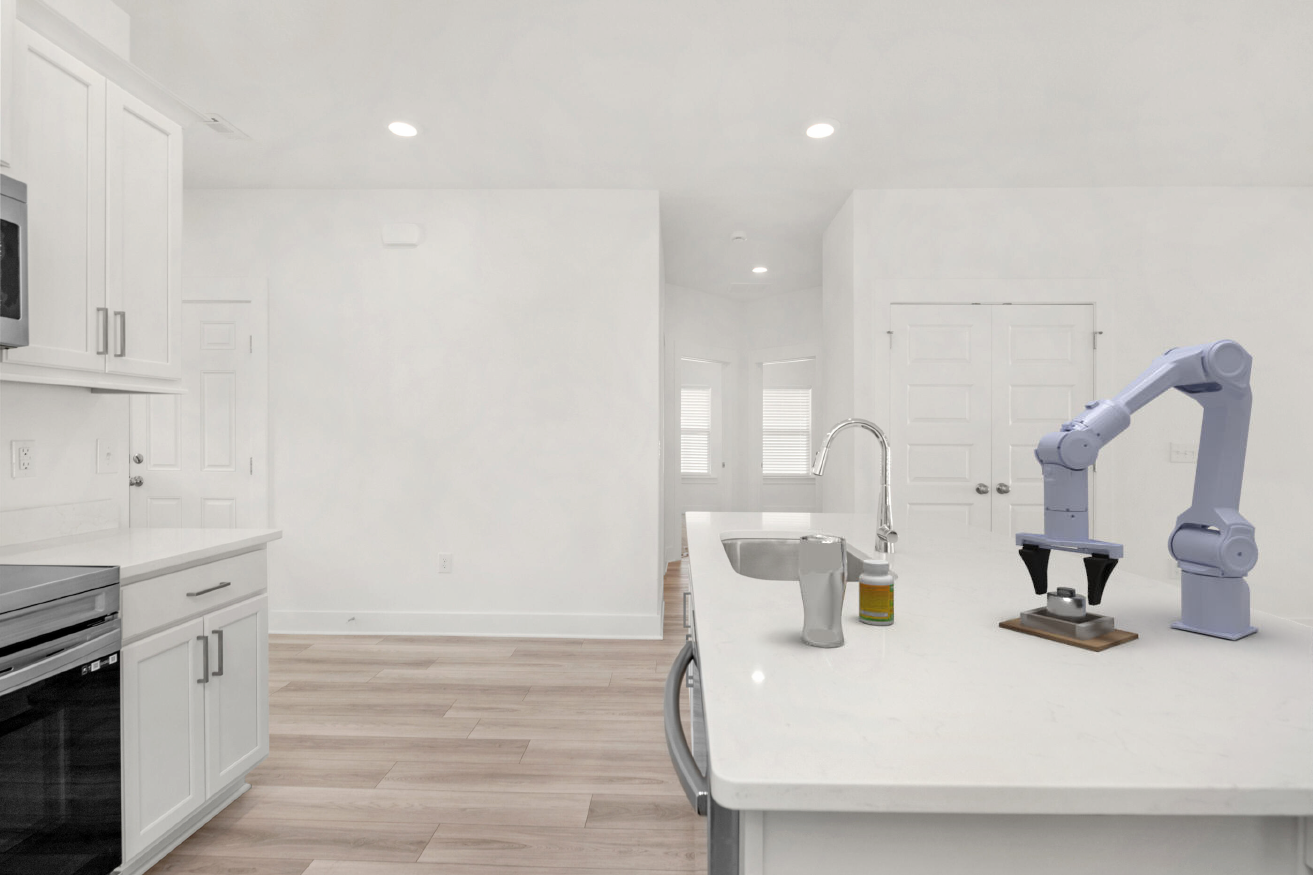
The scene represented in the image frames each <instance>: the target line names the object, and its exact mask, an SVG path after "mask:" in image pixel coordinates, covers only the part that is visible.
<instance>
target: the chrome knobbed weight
mask: <svg viewBox="0 0 1313 875" xmlns="http://www.w3.org/2000/svg"><path fill="white" fill-rule="evenodd" d="M1046 606H1047V617H1050V618H1055V619H1059V620H1063V621H1068V622H1072V623H1077V624H1081V623H1085V622H1086V612H1087V597H1086V596H1085V595H1083V594H1080V593H1076V589H1075V588H1072V587H1067V586H1066V587H1065V586H1057V587H1056V591H1047V593H1046Z"/></svg>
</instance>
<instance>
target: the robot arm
mask: <svg viewBox="0 0 1313 875" xmlns="http://www.w3.org/2000/svg"><path fill="white" fill-rule="evenodd" d="M1253 359H1254V358H1253V356H1252V355H1251V354H1250V353H1249V352H1248V351H1247V350H1246V349H1245V348H1244V347H1243V346H1242V345H1241V344H1240V343H1239V342H1237V341H1235V340H1234V339H1227V338H1223V339H1218V340H1215V341H1213V342H1206V343H1200V344H1195V345H1189V346H1183V347H1173V348H1168V349H1167V350H1166V351H1164V352H1163V353H1162V354H1161V355H1159V356H1157V357H1154V358H1153V359H1152V361H1151V364H1150V365H1149V366H1148V367H1147V368H1146V369H1145V370H1144V371H1142V372H1141V373H1140V374H1139V375H1138V376H1136V377H1135V379H1134V380H1133V381H1131V382H1129V384H1127V386H1125V387H1124V388H1123V389H1122V390H1120V392H1118V393H1117V394H1116V395H1115V396H1114V397H1113V398H1111V399H1107V398H1101V399H1097V400H1090V401H1088V402H1087V403H1086V404H1085V405H1084V408H1085V409H1084V410H1083V411H1082V412H1080V413H1079V414H1078V415H1077V416H1075V417H1073V418H1072V419H1071V420H1066V421H1063V423H1062V424H1061V428H1060V430H1059V431H1052V432H1048V433H1046V434H1044V435H1043V436H1042V437H1041V438H1040V440H1039V443H1038V444H1037V448H1034V449H1033V453H1034V457H1035V459H1036V461H1037V462H1038V464H1039V465H1040V467H1041V475H1042V476H1043V520H1044V521H1043V522H1044V524H1043V527H1044V528H1043V529H1044V530H1043V531H1044V532H1043V533H1044V534H1043V533H1042V534H1041V533H1040V534H1039V533H1028V532H1017V533H1015V546H1019V547H1021V548H1020V549H1018V551H1017V552H1018V555H1019V556H1020V558H1021V560H1022V561H1023V564H1025V567H1026V569H1027V571H1028V574H1029V575H1030V578H1031V582H1032V585H1033V589H1034V593H1035V595H1039V596H1042V595H1045V594H1046V595H1047V593H1048V588H1049V586H1048V585H1049V584H1048V582H1049V581H1048V579H1049V578H1048V571H1049V569H1048V568H1049V561H1050V555H1051V553H1052V550H1053V551H1061V552H1069V553H1076V554H1083V555H1090V556H1086V557H1083V558H1082V560H1083V564H1084V568H1085V573H1086V578H1087V604H1088V605H1089V606H1092V607H1093V606H1098V605H1101V603H1102V598H1103V595H1104V594H1103V593H1104V590H1105V588H1106V585H1107V583H1108V580H1109V578H1110V576H1111V575H1112V573H1113V571H1114V570H1115V568H1116V566H1117V565H1118V563H1119V560H1120V559H1123V558H1124V544H1122V543H1116V542H1115V543H1113V542H1108V541H1103V540H1099V539H1098V540H1097V539H1091V538H1089V537H1090V533H1089V530H1090V529H1089V528H1090V525H1089V523H1090V522H1089V521H1090V520H1089V467H1090V466H1092V465H1094V464H1095V463H1096V461H1097V458H1098V456H1099V451H1100V450H1101V449H1102V448H1103V447H1104V446H1106V445H1107V444H1109V443H1110V442H1111V441H1112V440H1114V439H1115V438H1117V437H1118V436H1119V435H1120V434H1121V433H1123V432H1124V431H1126V430H1127V429H1128V428H1129V427H1130V426H1131V421H1132V420H1131V415H1134V413H1136V412H1138V410H1140V409H1142V408H1143V407H1144V406H1146V405H1148V404H1149V403H1151V402H1152V401H1153V400H1154V399H1156V398H1158V397H1159V396H1161V395H1162V394H1164V393H1165V392H1166V391H1168V390H1170V389H1171V388H1173V389H1174V390H1177V391H1179V392H1180V393H1182V394H1184V395H1186V396H1188V397H1189V398H1191V399H1193V400H1195V401H1196V402H1197V403H1198V404H1199V405H1200V406H1202V408H1203V412H1202V421H1201V427H1200V428H1201V430H1200V436H1199V442H1198V444H1199V445H1198V452H1197V460H1196V466H1195V468H1196V469H1195V474H1194V475H1195V477H1194V481H1193V482H1194V484H1193V491H1192V492H1193V493H1192V497H1191V498H1192V500H1191V506H1190V507H1189V508H1187V509H1185V511H1183V512H1181V513H1180V514H1179V515H1177V516H1176V521H1175V526H1174V529H1173V530H1172V532H1171V533H1170V534H1169V537H1168V539H1167V548H1168V553H1169V555H1170V556H1171V557H1172V558H1173V560H1175V561H1176V562H1177V568H1180V569H1181V570H1180V574H1181V575H1180V588H1181V590H1180V593H1181V594H1180V596H1181V598H1180V599H1181V601H1180V604H1181V605H1180V606H1181V612H1180V614H1181V619H1180V620H1178V621H1175V622H1174V621H1173V622H1171V623H1169V626H1170V627H1171V628H1175V629H1178V630H1179V629H1180V630H1185V631H1189V632H1194V633H1199V634H1204V635H1208V636H1213V637H1218V638H1223V639H1227V640H1234V641H1236V640H1238V639H1240V638H1243V637H1246V636H1249V635H1251V634H1253V633H1255V632H1258V631H1259V627H1257V626H1253V625H1251V590H1250V586H1249V584H1248V582H1247V580H1246V579H1244V577H1246V578H1247V577H1248V576H1249V574H1248V573H1249V572H1250V571H1252V570H1253V569H1254V568H1255V566H1256V565H1257V563H1258V559H1259V558H1258V557H1259V549H1258V545H1257V542H1256V538H1255V537H1256V536H1255V534H1256V527H1255V526H1254V525H1253V524H1252V523H1251V522H1250V521H1249V520H1247V519H1246V518H1245V517H1244V516H1243V515H1242V514H1241V513H1240V512H1239V511H1240V501H1241V495H1242V494H1241V493H1242V487H1243V478H1244V471H1245V462H1246V456H1247V447H1248V438H1249V433H1250V432H1249V431H1250V424H1251V423H1250V422H1251V415H1252V414H1251V413H1252V406H1253V392H1252V388H1251V383H1250V381H1251V374H1252V365H1253ZM1210 527H1214V528H1217V529H1218V530H1217V529H1212V528H1210Z"/></svg>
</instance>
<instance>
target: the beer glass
mask: <svg viewBox="0 0 1313 875" xmlns="http://www.w3.org/2000/svg"><path fill="white" fill-rule="evenodd" d="M797 559H798V560H797V564H798V565H797V566H798V568H797V571H798V581H799V589H800V593H801V594H800V595H801V599H802V600H801V601H802V606H803V626H802V631H801V637H800V638H801V642H803V643H804V642H805V643H804V644H806V643H808V644H811V645H815V646H820V647H819V648H823V647H833V648H838V646H839V647H841V645H842V646H843V645H844V644H845V637H844V633H843V632H844V631H843V625H842V617H843V616H842V614H843V607H844V606H843V605H844V600H845V596H846V595H845V594H846V590H847V589H846V588H847V582H848V555H847V542H846V538H845V537H844V538H843V537H841V536H834V535H824V534H823V535H821V534H818V535H817V534H815V535H811V534H810V535H803V536H800V537H799V544H798V557H797ZM808 644H807V645H808ZM811 645H810V646H811ZM815 646H814V647H815Z"/></svg>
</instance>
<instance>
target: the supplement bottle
mask: <svg viewBox="0 0 1313 875" xmlns="http://www.w3.org/2000/svg"><path fill="white" fill-rule="evenodd" d="M862 568H863V571H864V572H861V574H860V575H859V577H858V619H859V621H860V622H861V623H864V624H868V625H871V626H890V625H893V624H894V622H895V593H894V592H895V589H894V588H895V581H894V580H895V579H894V578H893V576H892V575H890V574H889V573H888V572H889V571H890V562H889V561H887V560H883V559H875V558H874V559H873V558H871V559H869V558H868V559H864V560H863V561H862Z"/></svg>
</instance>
